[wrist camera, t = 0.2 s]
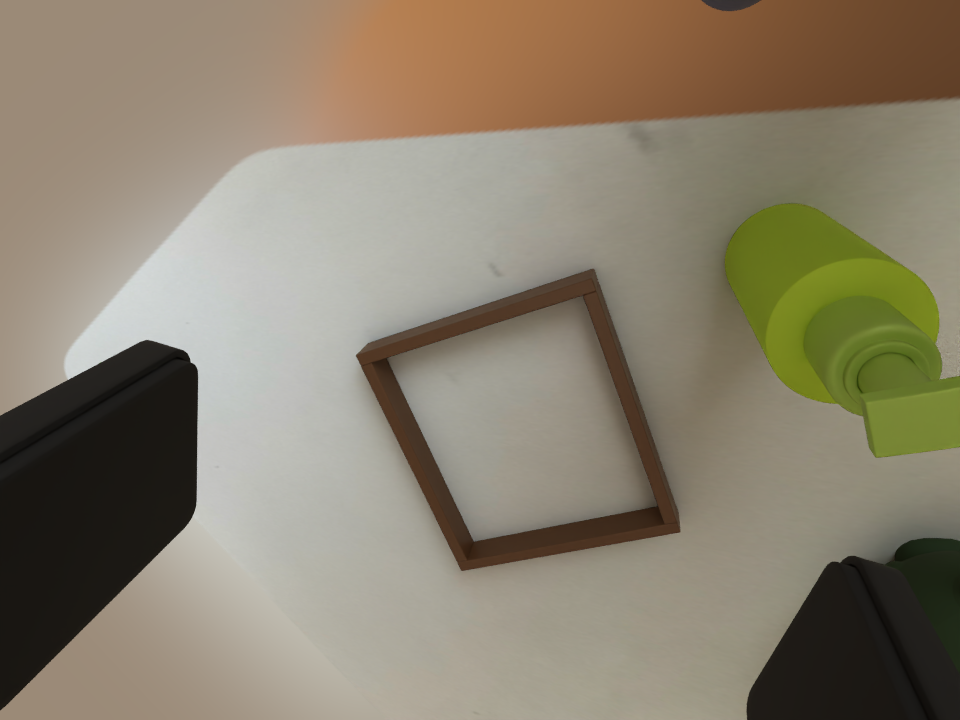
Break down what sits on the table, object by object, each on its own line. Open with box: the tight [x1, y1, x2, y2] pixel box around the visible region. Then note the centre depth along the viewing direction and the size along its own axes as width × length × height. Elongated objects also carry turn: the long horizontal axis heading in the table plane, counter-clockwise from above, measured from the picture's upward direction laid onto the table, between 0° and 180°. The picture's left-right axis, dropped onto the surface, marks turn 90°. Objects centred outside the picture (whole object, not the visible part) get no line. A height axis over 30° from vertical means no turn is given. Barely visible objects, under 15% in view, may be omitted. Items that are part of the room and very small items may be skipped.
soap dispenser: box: [725, 204, 960, 458], centre depth 26 cm, size 6×7×20 cm
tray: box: [356, 269, 680, 571], centre depth 41 cm, size 18×16×4 cm
